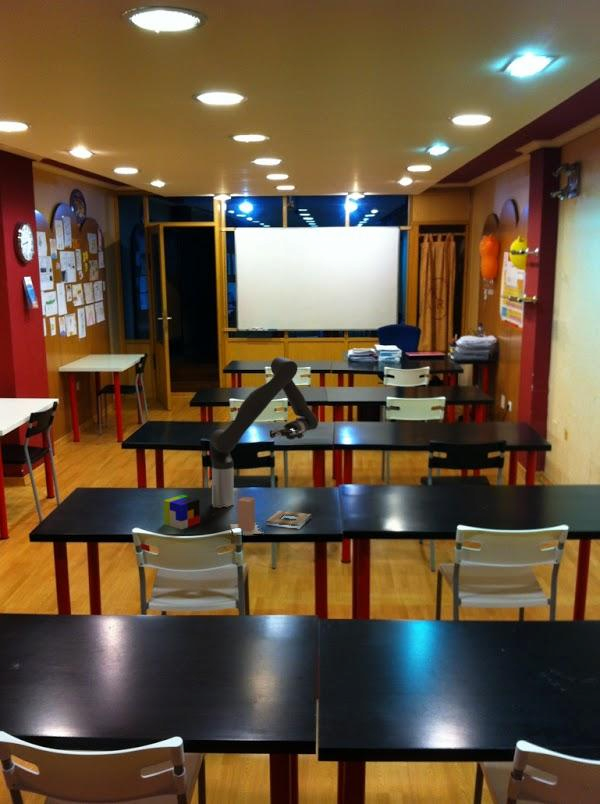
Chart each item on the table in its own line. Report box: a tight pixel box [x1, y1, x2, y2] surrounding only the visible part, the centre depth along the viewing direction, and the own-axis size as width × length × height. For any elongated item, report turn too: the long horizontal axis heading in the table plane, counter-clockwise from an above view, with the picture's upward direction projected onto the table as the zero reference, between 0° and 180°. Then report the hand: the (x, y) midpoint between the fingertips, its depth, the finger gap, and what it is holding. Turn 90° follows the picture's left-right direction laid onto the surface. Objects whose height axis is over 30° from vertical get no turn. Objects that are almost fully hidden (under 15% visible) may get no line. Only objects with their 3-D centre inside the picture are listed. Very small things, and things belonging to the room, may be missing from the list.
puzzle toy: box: [163, 494, 201, 530], centre depth 286 cm, size 10×10×10 cm
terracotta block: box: [237, 496, 256, 531], centre depth 279 cm, size 5×5×12 cm
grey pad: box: [229, 522, 264, 537], centre depth 280 cm, size 12×12×1 cm
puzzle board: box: [266, 509, 312, 526], centre depth 289 cm, size 14×14×2 cm
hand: (280, 436), depth 301 cm, fingers open, 8 cm apart
